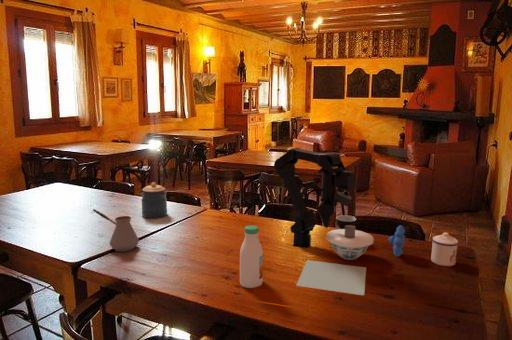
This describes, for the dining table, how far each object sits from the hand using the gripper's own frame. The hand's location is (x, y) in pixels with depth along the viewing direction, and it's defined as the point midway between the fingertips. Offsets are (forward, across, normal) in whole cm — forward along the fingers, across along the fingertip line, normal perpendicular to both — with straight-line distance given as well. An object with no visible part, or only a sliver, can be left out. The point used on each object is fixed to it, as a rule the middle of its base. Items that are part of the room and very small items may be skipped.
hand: (327, 223), depth 161 cm
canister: (+14, +27, +92) cm, 97 cm away
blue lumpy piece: (+13, +9, -27) cm, 31 cm away
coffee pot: (+14, -17, +85) cm, 88 cm away
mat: (+13, -20, -5) cm, 24 cm away
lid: (+5, 0, -9) cm, 10 cm away
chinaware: (+13, 0, -9) cm, 16 cm away
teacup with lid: (+13, +8, -45) cm, 47 cm away
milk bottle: (+13, -33, +22) cm, 41 cm away
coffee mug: (+13, +21, -6) cm, 25 cm away
